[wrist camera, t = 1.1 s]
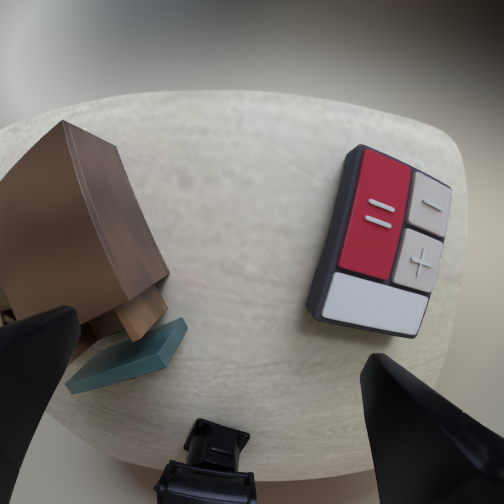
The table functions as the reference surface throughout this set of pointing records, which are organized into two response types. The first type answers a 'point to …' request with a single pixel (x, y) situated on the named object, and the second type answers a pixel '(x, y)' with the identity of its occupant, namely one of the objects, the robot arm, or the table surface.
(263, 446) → the table surface
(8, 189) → the cabinet
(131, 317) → the drawer
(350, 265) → the calculator
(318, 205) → the table surface
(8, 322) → the coin bank
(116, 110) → the table surface
